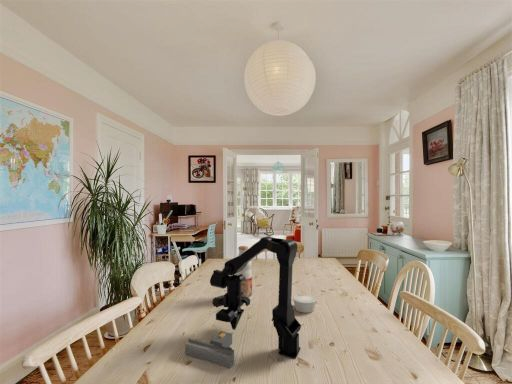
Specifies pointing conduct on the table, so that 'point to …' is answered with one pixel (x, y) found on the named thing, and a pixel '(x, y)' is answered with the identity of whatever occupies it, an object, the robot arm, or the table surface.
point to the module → (222, 339)
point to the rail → (210, 352)
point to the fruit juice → (246, 276)
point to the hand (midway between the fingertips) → (234, 329)
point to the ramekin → (304, 303)
